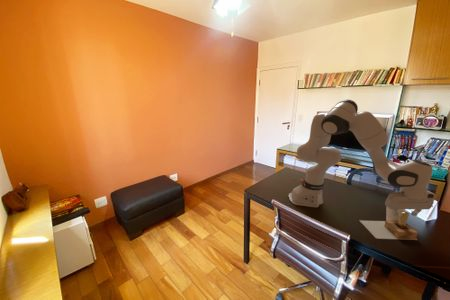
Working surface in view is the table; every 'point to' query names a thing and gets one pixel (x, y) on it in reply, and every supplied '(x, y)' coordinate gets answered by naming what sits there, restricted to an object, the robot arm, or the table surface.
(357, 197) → the table surface
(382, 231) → the mat
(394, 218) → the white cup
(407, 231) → the square wooden tray
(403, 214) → the wooden peg
